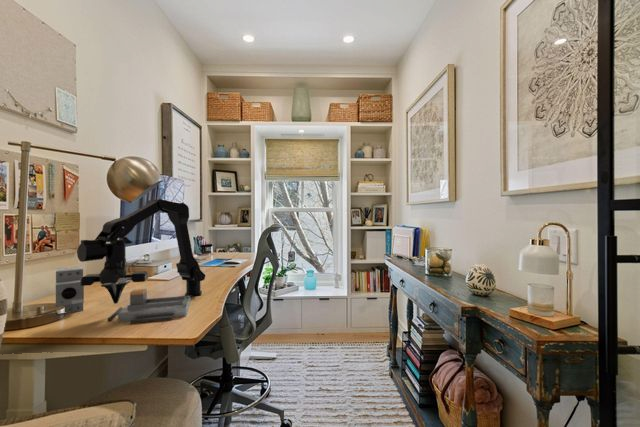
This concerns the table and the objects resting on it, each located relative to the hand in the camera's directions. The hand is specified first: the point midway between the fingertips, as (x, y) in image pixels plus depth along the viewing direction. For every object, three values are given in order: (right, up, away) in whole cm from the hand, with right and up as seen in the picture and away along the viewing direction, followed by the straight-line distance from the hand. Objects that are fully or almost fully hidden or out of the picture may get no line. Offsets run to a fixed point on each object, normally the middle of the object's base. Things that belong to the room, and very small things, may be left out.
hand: (116, 303), depth 107 cm
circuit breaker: (-19, -5, +4) cm, 20 cm away
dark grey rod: (0, -4, 0) cm, 4 cm away
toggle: (+7, -1, +2) cm, 7 cm away
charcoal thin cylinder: (+15, -4, -6) cm, 17 cm away
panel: (+12, -4, +4) cm, 14 cm away
